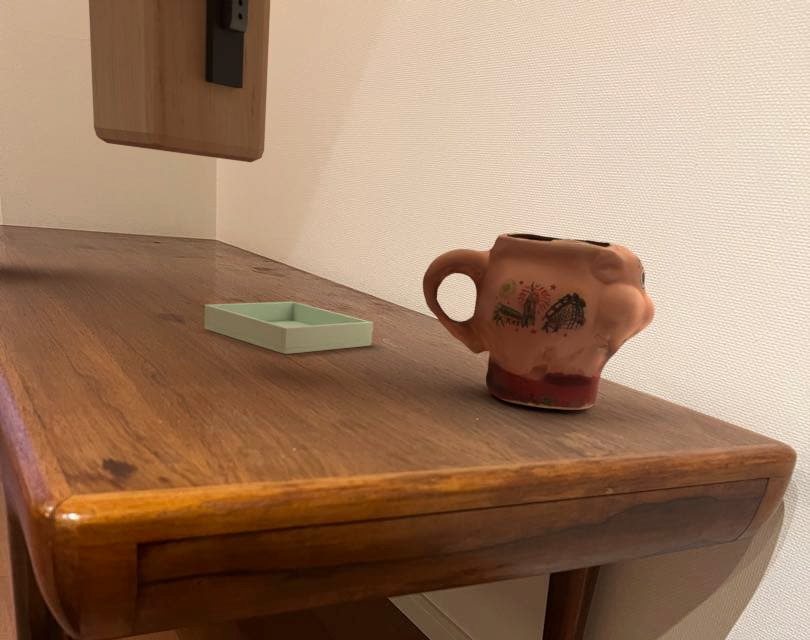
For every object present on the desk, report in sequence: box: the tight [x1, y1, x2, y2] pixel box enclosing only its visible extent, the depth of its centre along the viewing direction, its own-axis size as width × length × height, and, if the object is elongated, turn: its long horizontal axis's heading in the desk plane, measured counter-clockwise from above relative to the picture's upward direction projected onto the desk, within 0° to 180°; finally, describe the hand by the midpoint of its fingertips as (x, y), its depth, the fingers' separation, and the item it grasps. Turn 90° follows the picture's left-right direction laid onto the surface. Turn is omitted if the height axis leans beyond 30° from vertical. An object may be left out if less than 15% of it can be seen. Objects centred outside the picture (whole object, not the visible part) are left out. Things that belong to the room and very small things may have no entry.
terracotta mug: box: [422, 232, 656, 411], centre depth 67 cm, size 20×12×14 cm, turn 95°
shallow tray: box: [204, 301, 374, 355], centre depth 83 cm, size 13×13×2 cm
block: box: [88, 0, 271, 163], centre depth 58 cm, size 10×10×20 cm
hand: (179, 82), depth 60 cm, fingers closed on block, 10 cm apart
